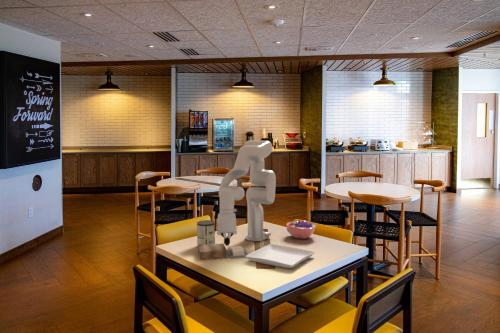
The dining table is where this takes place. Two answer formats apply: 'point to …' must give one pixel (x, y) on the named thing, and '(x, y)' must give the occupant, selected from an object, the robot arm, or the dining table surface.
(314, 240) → the dining table surface
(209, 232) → the coffee can
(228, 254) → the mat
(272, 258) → the square plate
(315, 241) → the dining table surface
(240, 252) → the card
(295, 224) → the cell model
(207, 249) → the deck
